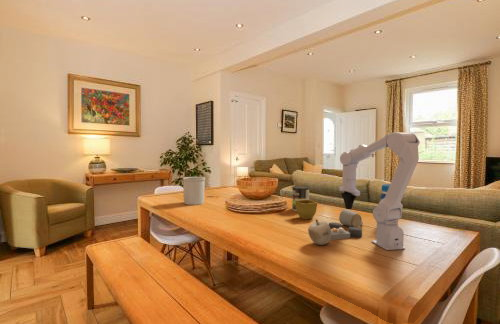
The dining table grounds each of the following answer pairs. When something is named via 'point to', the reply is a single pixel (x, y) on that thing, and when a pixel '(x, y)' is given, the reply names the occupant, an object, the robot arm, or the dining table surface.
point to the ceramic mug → (350, 218)
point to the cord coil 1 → (335, 225)
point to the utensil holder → (193, 190)
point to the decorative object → (320, 232)
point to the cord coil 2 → (355, 232)
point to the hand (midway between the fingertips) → (348, 208)
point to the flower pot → (306, 208)
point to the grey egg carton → (339, 234)
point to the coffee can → (299, 195)
